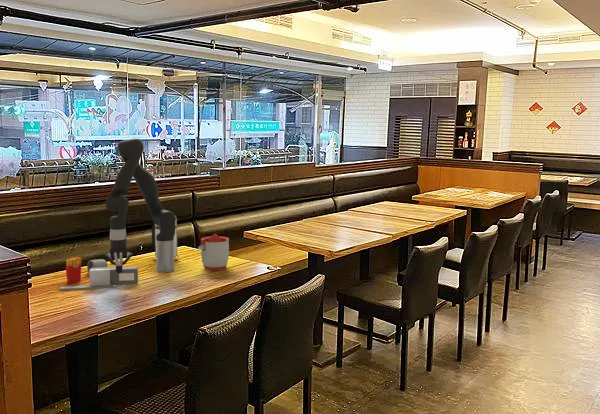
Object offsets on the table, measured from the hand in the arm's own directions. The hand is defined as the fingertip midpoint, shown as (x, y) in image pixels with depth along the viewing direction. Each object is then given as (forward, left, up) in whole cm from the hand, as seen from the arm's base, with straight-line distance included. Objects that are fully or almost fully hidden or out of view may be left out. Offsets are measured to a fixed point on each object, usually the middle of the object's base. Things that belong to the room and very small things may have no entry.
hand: (119, 272), depth 260 cm
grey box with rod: (+9, -3, -7) cm, 12 cm away
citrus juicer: (-47, -28, -7) cm, 55 cm away
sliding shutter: (+9, 0, -6) cm, 11 cm away
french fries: (+23, -14, -7) cm, 28 cm away
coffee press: (-20, -53, -7) cm, 57 cm away
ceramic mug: (+15, -29, -7) cm, 33 cm away
